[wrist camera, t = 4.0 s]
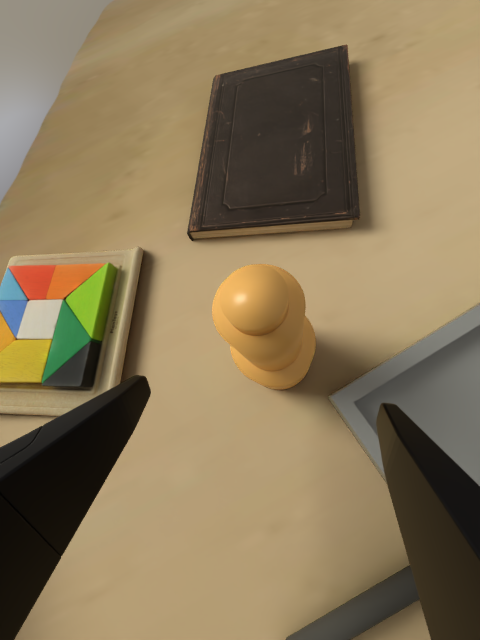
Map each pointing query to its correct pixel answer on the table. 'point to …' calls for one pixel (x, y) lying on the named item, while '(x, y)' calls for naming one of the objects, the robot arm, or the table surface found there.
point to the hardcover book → (278, 150)
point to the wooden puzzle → (64, 328)
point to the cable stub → (363, 610)
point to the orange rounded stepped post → (265, 325)
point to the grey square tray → (425, 393)
